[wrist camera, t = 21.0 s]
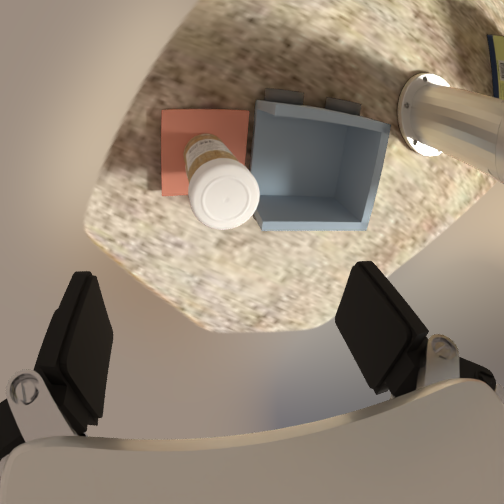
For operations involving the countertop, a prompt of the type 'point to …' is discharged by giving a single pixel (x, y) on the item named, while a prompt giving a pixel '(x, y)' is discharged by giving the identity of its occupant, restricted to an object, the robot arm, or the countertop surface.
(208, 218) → the sprinkles bottle
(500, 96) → the protein box
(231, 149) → the panel
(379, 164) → the box
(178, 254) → the countertop surface
